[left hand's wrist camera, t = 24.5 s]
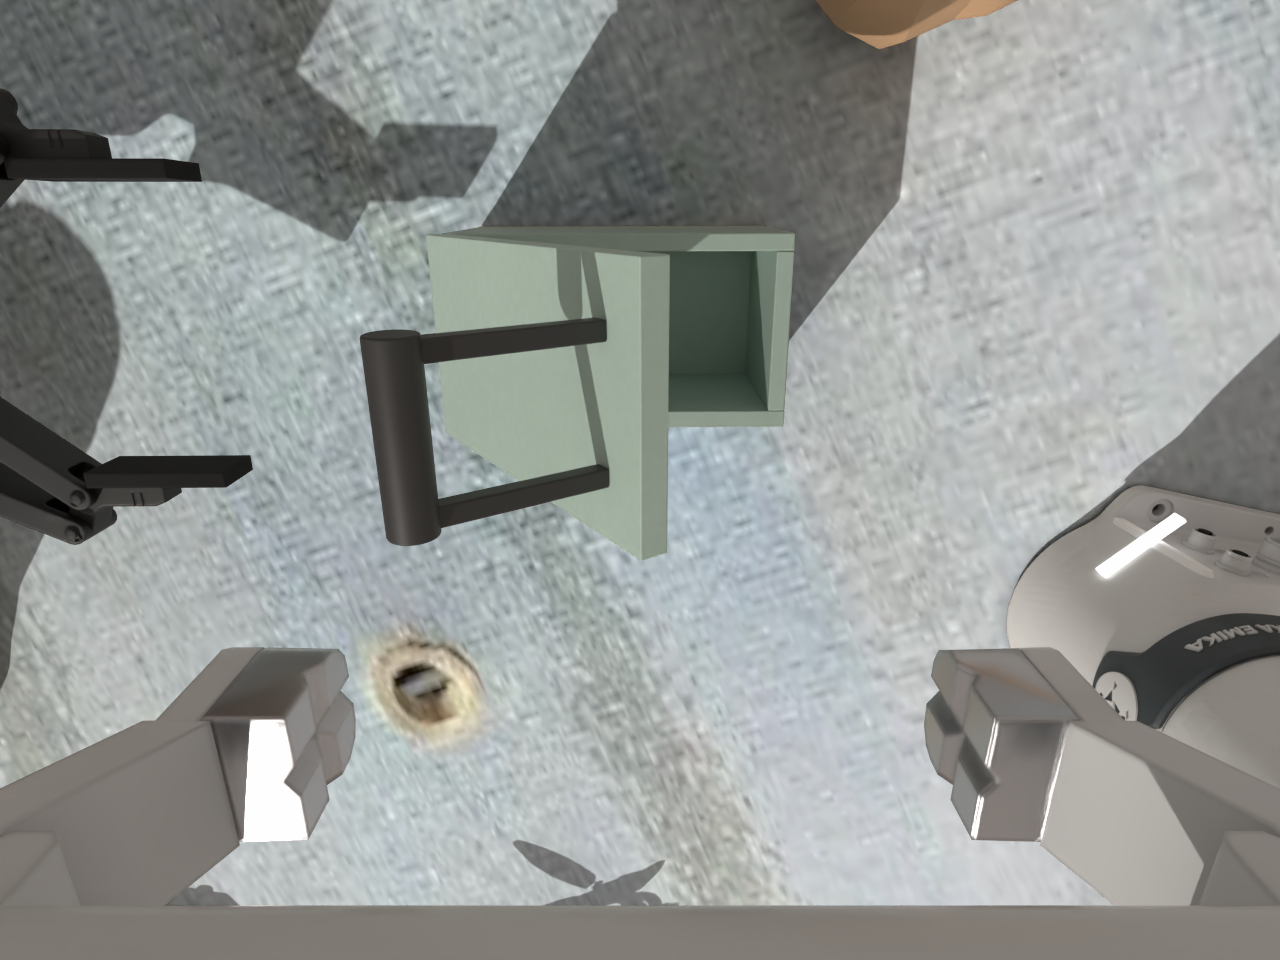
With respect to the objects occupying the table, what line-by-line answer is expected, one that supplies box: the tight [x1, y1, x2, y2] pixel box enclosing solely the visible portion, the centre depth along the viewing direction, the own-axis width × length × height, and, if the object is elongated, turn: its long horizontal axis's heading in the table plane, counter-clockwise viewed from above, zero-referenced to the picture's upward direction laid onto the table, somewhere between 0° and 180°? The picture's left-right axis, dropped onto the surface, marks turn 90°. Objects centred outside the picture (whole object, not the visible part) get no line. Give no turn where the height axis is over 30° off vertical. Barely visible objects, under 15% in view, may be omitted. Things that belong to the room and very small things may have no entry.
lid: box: [360, 234, 670, 561], centre depth 28 cm, size 18×10×8 cm
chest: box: [443, 226, 796, 427], centre depth 42 cm, size 17×10×10 cm, turn 90°
